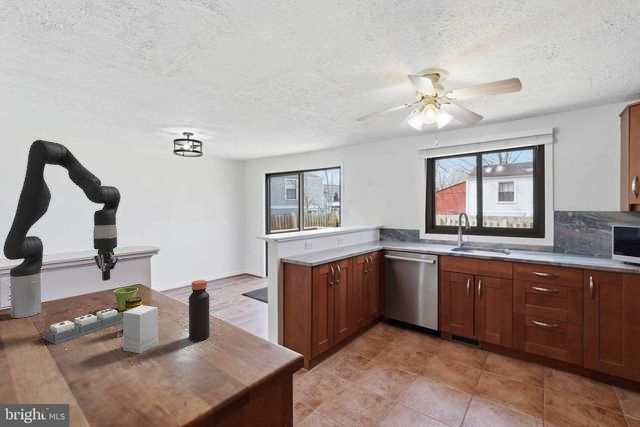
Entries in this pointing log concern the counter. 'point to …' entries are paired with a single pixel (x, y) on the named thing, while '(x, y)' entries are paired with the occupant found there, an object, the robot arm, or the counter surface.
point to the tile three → (106, 313)
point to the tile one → (61, 326)
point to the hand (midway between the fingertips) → (106, 280)
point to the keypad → (82, 329)
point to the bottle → (199, 311)
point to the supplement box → (140, 329)
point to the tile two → (85, 319)
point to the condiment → (130, 305)
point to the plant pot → (124, 296)
